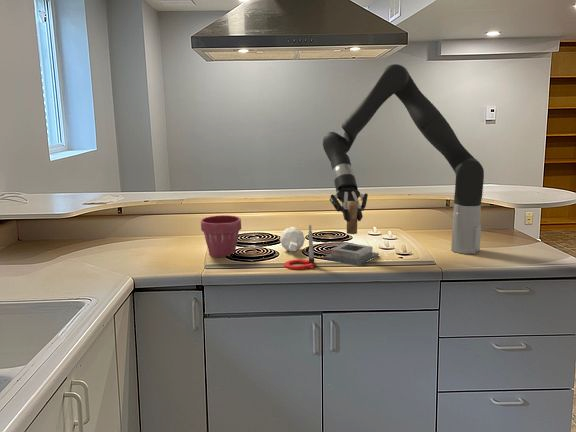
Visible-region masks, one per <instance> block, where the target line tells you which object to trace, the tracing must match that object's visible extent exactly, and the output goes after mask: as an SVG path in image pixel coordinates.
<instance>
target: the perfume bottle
mask: <svg viewBox="0 0 576 432" xmlns="http://www.w3.org/2000/svg"><path fill="white" fill-rule="evenodd" d="M305 239H306V238H305V236H304V232H303V231H302V230H300V228H297V227H295V226H290V227H286V228H285V229H284V230H283V231H282V232H281V235H280V238H279V241H280V245H281V246H282V247H283V249H285V250H286V251H288V252H292V253H294V252H297V251H299V250H300V249H301V248H302V247H304V244H305V241H306V240H305Z"/></svg>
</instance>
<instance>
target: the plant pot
mask: <svg viewBox="0 0 576 432" xmlns="http://www.w3.org/2000/svg"><path fill="white" fill-rule="evenodd" d="M241 220H242V219H241V217H239V216H236V215H226V214H225V215H212V216H208V217H207V216H206V217H204V218H202V219H200V230H201V232H203V234H204V238H205V243H206V248H207V250H208V254H209V256H210V255H211V257H213V256H214V257H213V258H226V256H228V255H231V254H233V253H235V254H236V249H237V245H238V238H239V232H240V230H241V229H242V221H241ZM228 257H229V256H228Z"/></svg>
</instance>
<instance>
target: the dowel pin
mask: <svg viewBox="0 0 576 432" xmlns="http://www.w3.org/2000/svg"><path fill="white" fill-rule="evenodd" d="M347 210H348V213H349V217H350V220H349V222H346V234H347V235H357V234H358V219H357V218H358V201H347Z"/></svg>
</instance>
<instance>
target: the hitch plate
mask: <svg viewBox="0 0 576 432" xmlns="http://www.w3.org/2000/svg"><path fill="white" fill-rule="evenodd" d="M378 255H379V256H380V253H379V252H375V251H374V252H373V246H370V245H362V244H356V243H350V242H344V243H341V244H339V245H337V246H335V247H333V248H331V249H330V253H329V254H326V255H325V256H323V259H324V260H325V259H326V260H327V261H331V262H337V263H343V264H349V265H354V266H363V265H364V263H365V262H367V261H368V260H370V259H372V258H374V257H376V256H378ZM379 256H378V257H379ZM376 258H377V257H376ZM374 259H375V258H374ZM372 260H373V259H372ZM367 263H368V262H367ZM365 264H366V263H365Z"/></svg>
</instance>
